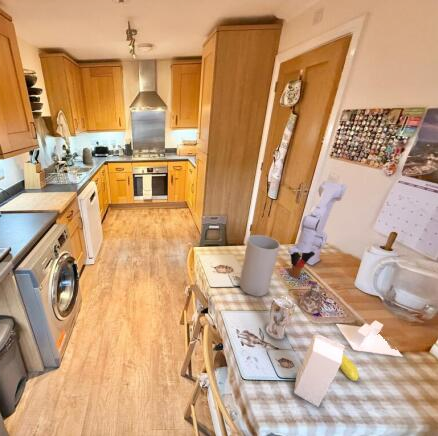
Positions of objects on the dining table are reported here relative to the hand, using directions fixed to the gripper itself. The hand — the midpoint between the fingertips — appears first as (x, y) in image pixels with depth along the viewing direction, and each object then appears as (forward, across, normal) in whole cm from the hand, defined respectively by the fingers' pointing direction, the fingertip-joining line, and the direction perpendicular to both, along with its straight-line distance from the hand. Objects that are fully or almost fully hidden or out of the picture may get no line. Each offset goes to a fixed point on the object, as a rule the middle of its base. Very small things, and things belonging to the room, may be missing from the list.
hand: (298, 264), depth 114 cm
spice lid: (-2, 0, 0) cm, 2 cm away
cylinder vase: (+7, +26, +4) cm, 28 cm away
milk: (+7, +38, +47) cm, 61 cm away
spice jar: (+7, 0, 0) cm, 7 cm away
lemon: (+7, +21, +44) cm, 49 cm away
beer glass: (+7, +33, +27) cm, 43 cm away
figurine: (+7, +10, +19) cm, 23 cm away
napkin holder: (+7, +2, +37) cm, 37 cm away
